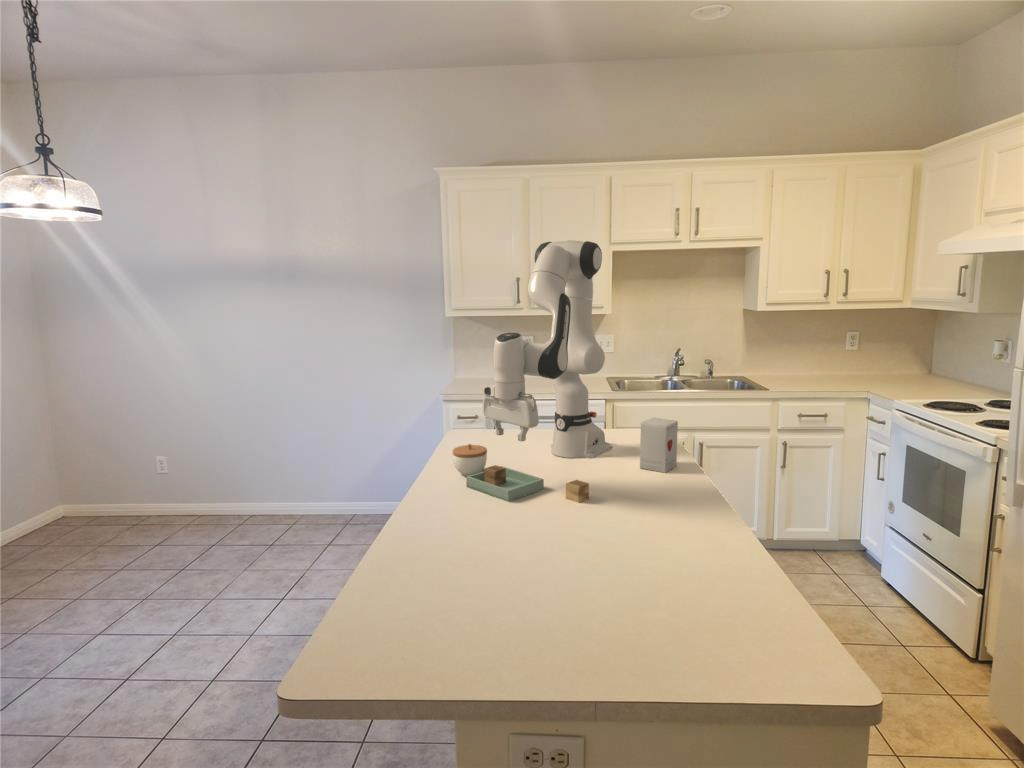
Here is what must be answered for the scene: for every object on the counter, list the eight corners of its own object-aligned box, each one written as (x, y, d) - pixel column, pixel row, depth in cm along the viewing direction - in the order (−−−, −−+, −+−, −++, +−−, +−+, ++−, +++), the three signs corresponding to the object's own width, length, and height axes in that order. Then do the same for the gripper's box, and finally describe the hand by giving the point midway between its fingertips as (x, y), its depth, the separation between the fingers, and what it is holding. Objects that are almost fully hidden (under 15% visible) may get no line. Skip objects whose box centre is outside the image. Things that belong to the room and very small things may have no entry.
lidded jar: (489, 468, 208) (489, 440, 207) (484, 479, 198) (484, 449, 196) (456, 467, 209) (455, 439, 208) (450, 478, 199) (449, 449, 197)
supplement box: (665, 473, 200) (666, 426, 197) (638, 468, 205) (639, 422, 202) (677, 466, 207) (678, 420, 204) (651, 461, 212) (652, 416, 210)
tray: (501, 475, 200) (501, 466, 200) (543, 489, 188) (543, 479, 187) (466, 486, 191) (466, 476, 190) (508, 501, 178) (508, 491, 178)
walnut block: (495, 479, 195) (495, 465, 194) (506, 482, 192) (505, 468, 191) (484, 483, 192) (484, 468, 191) (494, 486, 189) (494, 471, 188)
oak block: (576, 494, 183) (576, 479, 182) (588, 498, 180) (588, 483, 179) (565, 499, 180) (565, 483, 179) (578, 503, 177) (578, 487, 176)
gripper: (543, 393, 179) (543, 442, 181) (494, 384, 194) (496, 429, 196) (526, 397, 175) (527, 446, 177) (478, 387, 190) (480, 433, 192)
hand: (510, 437), depth 187 cm, fingers open, 8 cm apart
